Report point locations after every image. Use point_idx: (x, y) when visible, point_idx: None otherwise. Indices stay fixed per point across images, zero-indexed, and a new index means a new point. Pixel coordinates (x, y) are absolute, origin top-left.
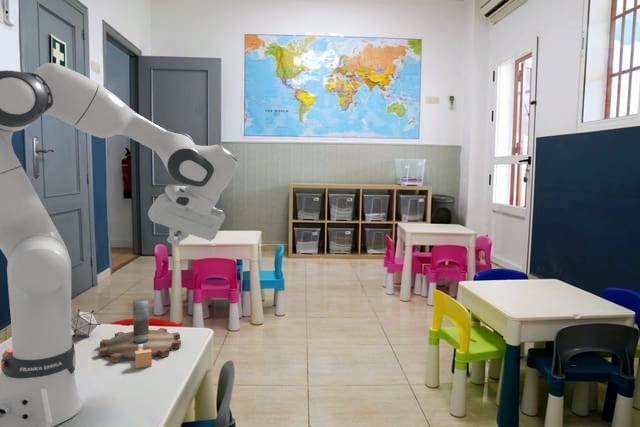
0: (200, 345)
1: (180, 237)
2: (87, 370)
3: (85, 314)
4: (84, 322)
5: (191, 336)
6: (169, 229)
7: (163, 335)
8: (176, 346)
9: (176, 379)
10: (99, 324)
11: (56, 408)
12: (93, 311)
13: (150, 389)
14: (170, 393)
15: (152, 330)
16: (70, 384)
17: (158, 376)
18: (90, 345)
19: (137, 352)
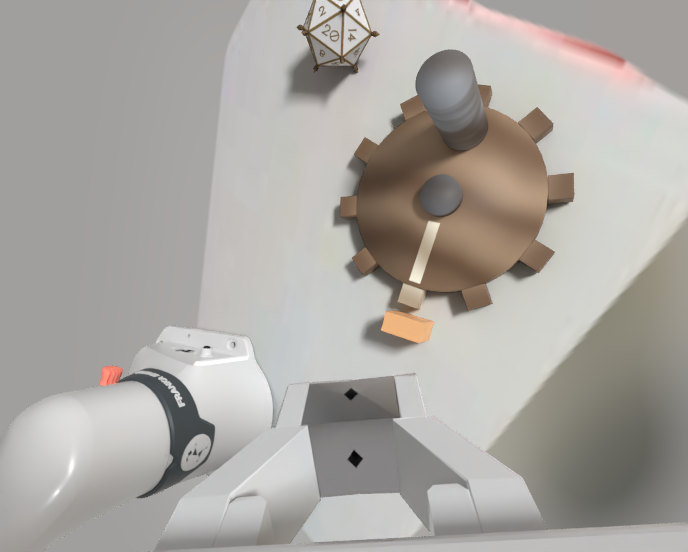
0: (619, 281)
1: (418, 497)
2: (312, 275)
3: (325, 23)
4: (327, 52)
5: (627, 185)
6: (203, 484)
7: (518, 181)
8: (531, 268)
9: None
10: (375, 36)
11: (214, 469)
12: (344, 10)
13: None
14: None
15: (503, 120)
16: (216, 459)
17: None
18: (348, 128)
19: (387, 323)
